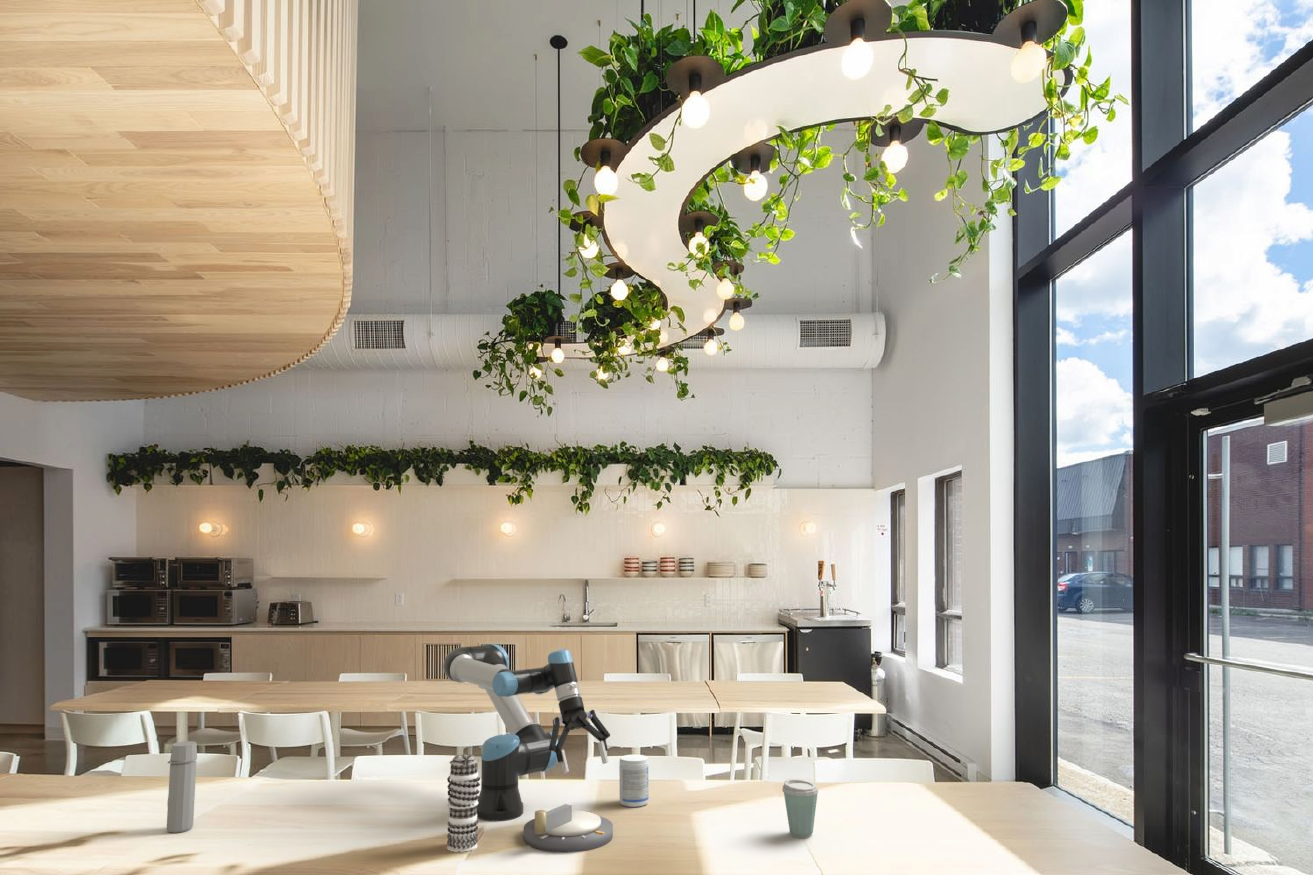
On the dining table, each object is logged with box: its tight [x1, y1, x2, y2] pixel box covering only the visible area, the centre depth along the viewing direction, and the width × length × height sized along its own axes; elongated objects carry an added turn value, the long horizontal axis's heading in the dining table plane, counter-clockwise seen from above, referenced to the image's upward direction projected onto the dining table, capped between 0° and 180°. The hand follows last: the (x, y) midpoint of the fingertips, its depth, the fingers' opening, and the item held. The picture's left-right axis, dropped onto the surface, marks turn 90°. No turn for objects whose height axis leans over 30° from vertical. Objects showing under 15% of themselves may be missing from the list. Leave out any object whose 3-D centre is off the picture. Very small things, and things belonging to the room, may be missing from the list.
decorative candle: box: [446, 753, 481, 853], centre depth 260 cm, size 9×9×25 cm
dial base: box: [522, 815, 614, 853], centre depth 268 cm, size 26×26×3 cm
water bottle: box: [166, 740, 198, 834], centre depth 275 cm, size 9×8×25 cm
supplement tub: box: [618, 754, 650, 808], centre depth 302 cm, size 10×10×15 cm
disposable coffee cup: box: [782, 778, 819, 839], centre depth 271 cm, size 11×11×15 cm
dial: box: [534, 803, 601, 836], centre depth 266 cm, size 24×19×7 cm
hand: (586, 767), depth 280 cm, fingers open, 13 cm apart
